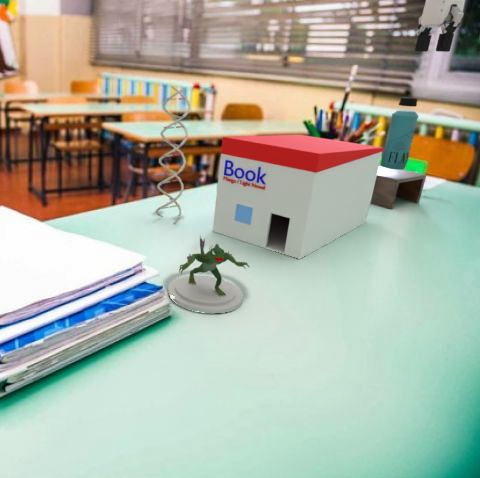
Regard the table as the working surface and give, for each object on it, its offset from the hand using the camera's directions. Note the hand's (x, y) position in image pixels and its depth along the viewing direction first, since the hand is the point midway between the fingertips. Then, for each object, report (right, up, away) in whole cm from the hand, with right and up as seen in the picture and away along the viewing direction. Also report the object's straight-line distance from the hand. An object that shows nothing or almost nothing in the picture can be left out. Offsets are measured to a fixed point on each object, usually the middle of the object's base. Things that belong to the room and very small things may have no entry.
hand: (431, 51), depth 126 cm
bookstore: (-40, -45, -11) cm, 61 cm away
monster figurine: (-66, -57, -45) cm, 98 cm away
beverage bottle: (-5, -30, +10) cm, 32 cm away
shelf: (-5, -37, +13) cm, 40 cm away
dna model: (-68, -44, -11) cm, 82 cm away
